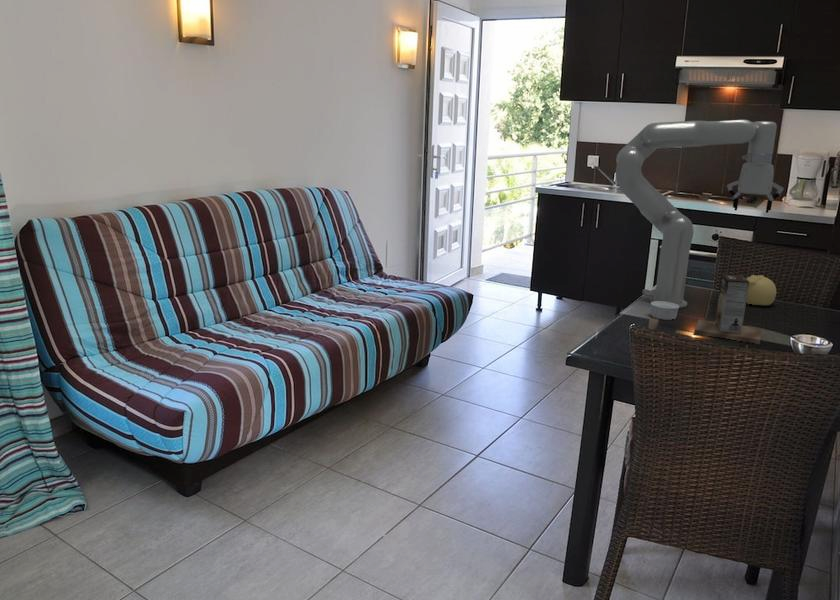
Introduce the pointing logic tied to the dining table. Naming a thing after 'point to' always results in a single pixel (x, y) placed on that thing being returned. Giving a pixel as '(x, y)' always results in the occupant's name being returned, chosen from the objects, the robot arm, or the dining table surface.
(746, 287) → the coffee box
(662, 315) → the ramekin
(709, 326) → the walnut board
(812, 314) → the dining table surface
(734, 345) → the dining table surface
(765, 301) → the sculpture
